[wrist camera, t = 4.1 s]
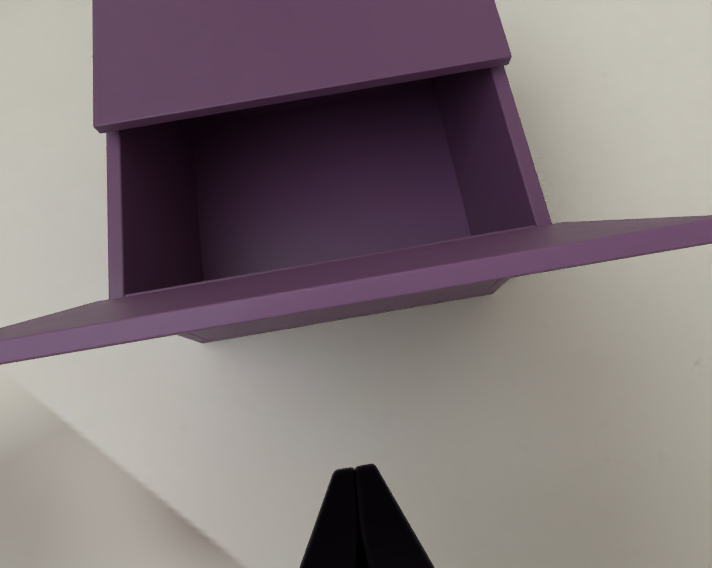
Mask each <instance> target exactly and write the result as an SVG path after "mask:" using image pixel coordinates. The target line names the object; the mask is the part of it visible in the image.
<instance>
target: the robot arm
mask: <svg viewBox="0 0 712 568" xmlns="http://www.w3.org/2000/svg"><path fill="white" fill-rule="evenodd" d="M300 568H434V566H433V564H432V562H431V561H430V559H429V557H428V555H427V554H426V552H425V550H424V548H423V547H422V545H421V543H420V542H419V540H418V538H417V536H416V535H415V533H414V531H413V529H412V528H411V526H410V524H409V523H408V521H407V519H406V517H405V516H404V514H403V512H402V510H401V509H400V507H399V505H398V503H397V502H396V500H395V498H394V497H393V495H392V493H391V491H390V490H389V488H388V486H387V484H386V483H385V481H384V479H383V477H382V476H381V474H380V472H379V471H378V469H377V467H376V466H375V465H374V464H367V465H361V466H357V467H356V468H355V469H354V468H352V467H349V468H343V469H338V470H335V471H334V473H333V475H332V478H331V480H330V483H329V486H328V489H327V492H326V494H325V497H324V500H323V503H322V506H321V509H320V511H319V514H318V517H317V520H316V523H315V526H314V528H313V531H312V534H311V537H310V540H309V542H308V545H307V548H306V551H305V554H304V557H303V559H302V562H301V565H300Z"/></svg>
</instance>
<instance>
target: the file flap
mask: <svg viewBox="0 0 712 568" xmlns="http://www.w3.org/2000/svg"><path fill="white" fill-rule="evenodd" d="M711 243H712V215H711V216H690V217H668V218H647V219H626V220H604V221H583V222H562V223H557V224H551V225H545V226H539V227H533V228H527V229H521V230H515V231H509V232H504V233H498V234H492V235H486V236H480V237H474V238H468V239H462V240H456V241H451V242H445V243H439V244H433V245H427V246H421V247H415V248H409V249H404V250H398V251H392V252H386V253H380V254H374V255H368V256H362V257H356V258H351V259H345V260H339V261H333V262H327V263H321V264H315V265H309V266H304V267H298V268H292V269H286V270H280V271H274V272H268V273H262V274H256V275H251V276H245V277H239V278H233V279H227V280H221V281H215V282H209V283H204V284H198V285H192V286H186V287H180V288H174V289H168V290H162V291H156V292H151V293H145V294H139V295H133V296H127V297H121V298H115V299H109V300H104V301H98V302H93V303H90V304H86V305H82V306H79V307H75V308H72V309H68V310H64V311H61V312H57V313H53V314H50V315H46V316H43V317H39V318H35V319H32V320H28V321H25V322H21V323H17V324H14V325H10V326H6V327H3V328H0V365H1V364H7V363H12V362H18V361H24V360H30V359H36V358H42V357H48V356H54V355H59V354H65V353H71V352H77V351H83V350H89V349H95V348H101V347H106V346H112V345H118V344H124V343H130V342H136V341H142V340H148V339H153V338H159V337H165V336H171V335H177V334H183V333H189V332H195V331H200V330H206V329H212V328H218V327H224V326H230V325H236V324H242V323H247V322H253V321H259V320H265V319H271V318H277V317H283V316H288V315H294V314H300V313H306V312H312V311H318V310H324V309H330V308H335V307H341V306H347V305H353V304H359V303H365V302H371V301H377V300H382V299H388V298H394V297H400V296H406V295H412V294H418V293H424V292H429V291H435V290H441V289H447V288H453V287H459V286H465V285H471V284H476V283H482V282H488V281H494V280H500V279H506V278H512V277H518V276H523V275H529V274H535V273H541V272H547V271H553V270H559V269H565V268H570V267H576V266H582V265H588V264H594V263H600V262H606V261H611V260H617V259H623V258H629V257H635V256H641V255H647V254H653V253H658V252H664V251H670V250H676V249H682V248H688V247H694V246H700V245H705V244H711Z"/></svg>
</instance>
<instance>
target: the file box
mask: <svg viewBox="0 0 712 568" xmlns="http://www.w3.org/2000/svg"><path fill="white" fill-rule="evenodd" d="M510 59H511V52H510V49H509V46H508V43H507V40H506V36H505V33H504V30H503V27H502V24H501V20H500V17H499V14H498V11H497V8H496V5H495V1H494V0H93V126H94V128H95V129H96V130H97V131H98V132H99V133H106V141H107V205H108V269H109V299H115V298H121V297H127V296H133V295H139V294H145V293H151V292H156V291H162V290H168V289H174V288H180V287H186V286H192V285H198V284H204V283H209V282H215V281H221V280H227V279H233V278H239V277H245V276H251V275H256V274H262V273H268V272H274V271H280V270H286V269H292V268H298V267H304V266H309V265H315V264H321V263H327V262H333V261H339V260H345V259H351V258H356V257H362V256H368V255H374V254H380V253H386V252H392V251H398V250H404V249H409V248H415V247H421V246H427V245H433V244H439V243H445V242H451V241H456V240H462V239H468V238H474V237H480V236H486V235H492V234H498V233H504V232H509V231H515V230H521V229H527V228H533V227H539V226H545V225H551V224H552V223H551V219H550V216H549V213H548V209H547V206H546V203H545V200H544V196H543V193H542V190H541V187H540V183H539V180H538V177H537V173H536V170H535V167H534V164H533V160H532V157H531V154H530V151H529V147H528V144H527V141H526V137H525V134H524V131H523V128H522V124H521V121H520V118H519V115H518V111H517V108H516V105H515V101H514V98H513V95H512V92H511V88H510V85H509V82H508V79H507V75H506V72H505V69H504V65H508V64H509V62H510ZM508 279H509V278H506V279H500V280H494V281H488V282H482V283H476V284H471V285H465V286H459V287H453V288H447V289H441V290H435V291H429V292H424V293H418V294H412V295H406V296H400V297H394V298H388V299H382V300H377V301H371V302H365V303H359V304H353V305H347V306H341V307H335V308H330V309H324V310H318V311H312V312H306V313H300V314H294V315H288V316H283V317H277V318H271V319H265V320H259V321H253V322H247V323H242V324H236V325H230V326H224V327H218V328H212V329H206V330H200V331H195V332H189V333H183V334H177V335H179V336H182V337H185V338H188V339H191V340H194V341H197V342H200V343H206V342H212V341H218V340H224V339H229V338H235V337H241V336H247V335H253V334H259V333H265V332H271V331H276V330H282V329H288V328H294V327H300V326H306V325H312V324H317V323H323V322H329V321H335V320H341V319H347V318H353V317H359V316H364V315H370V314H376V313H382V312H388V311H394V310H400V309H406V308H411V307H417V306H423V305H429V304H435V303H441V302H447V301H452V300H458V299H464V298H470V297H476V296H482V295H488V294H493V293H494V292H495V291H496V290H497V289H498V288H499V287H500V286H501V285H503V284H504V283H505V282H506V281H507V280H508Z"/></svg>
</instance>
